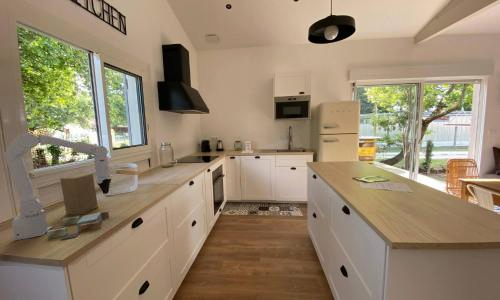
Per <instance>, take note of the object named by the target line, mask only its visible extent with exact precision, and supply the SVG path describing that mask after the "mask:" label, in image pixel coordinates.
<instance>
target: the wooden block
mask: <svg viewBox="0 0 500 300" xmlns="http://www.w3.org/2000/svg"><path fill="white" fill-rule="evenodd" d="M94 179H95V178H94V174H93V173H78V174H77V173H76V174H72V175H69V176H65V177H60V178H59V180H60V186H61V193H62V197H63V201H64V207H65V214H66V215H83V214H85V213H88V212H91V211H93V210H95V209H96V208H99V205H98V198H97V193H96V186H95V180H94Z"/></svg>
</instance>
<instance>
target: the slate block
mask: <svg viewBox="0 0 500 300" xmlns="http://www.w3.org/2000/svg"><path fill="white" fill-rule="evenodd" d="M94 213H95V214H93V213H90V214H86V215H83V216H82V217H80V220H79V221H78V222H77V223H76V227H77V231H79V232H80V225H82V224H87V223H92V222H98V221H100V223H101V222H102V221H103V219H102V214H101V213H99V212H94Z"/></svg>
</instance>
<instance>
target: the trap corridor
mask: <svg viewBox="0 0 500 300" xmlns="http://www.w3.org/2000/svg"><path fill="white" fill-rule="evenodd" d="M95 213H96V212H94V213H92V214H95ZM98 213H101V214H102V220H103V219H107V218H108V219H109V217H110V214H109V210H107V211H106V210H105V211H99V212H98ZM80 219H81V217H80V215H76V216H71V217H64V218H63V219H62V224H63V227H62V228H61V227H59V228H57V229H50V230H48V231H47V232H46V234H47V239H49V240H50V239H54V238H59V237H62V238H60V241H66V240H70V239H76V238H77V237H78V236H79V235H80V234H81V233H85V232H90V231H95V230H100V229H101V228H102V226H101V222H100V221H98V222H92V223H87V224H82V225H80V230H79V232H73V233H68V228H67V227H64V226H71V225H75V224H77V222H78V221H79V220H80Z"/></svg>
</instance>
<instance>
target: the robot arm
mask: <svg viewBox="0 0 500 300" xmlns="http://www.w3.org/2000/svg"><path fill="white" fill-rule="evenodd" d="M39 144H40V146H46V145H53V146H58V147H64V148H69V149H72V150H73V152H75V153H78V154H79V153H80V154H84V155H88V156H91V155H92V156H93V163H94V170H95V174H96V175H95V176H96V177H95V178H96V184H97V185H98V187H99V188H100V191H101V192H102V194H103V195H106V194H109V193H110V184H111V182H112V177H114V175H113V174H111V173H110V168H109V166H110V165H109V159H108V153H109V150H108V149H107V147H105V146H103V145H99V144H97V143H96V142H95V143H91V142H86V140H77V141H70V140H67V139H63V138H58V137H53V136H51V135H44V134H37V133H36V135H35V134H33V133H30V132H26V133H21V134H19V135H18V136H17V137H15V138H14V139H13V140H12V142H11V143H10V144H9V146H8V147H7V149H6V151H5V152H4V157H5V158H4V159H5V161H6V164H7V167H8V169H9V172H10V175H11V177H12V180H13V183H14V187H15V190H16V193H17V194H18V197H19V198H18V199H19V202H20V207H19V213H20V215H18V216H15V218H13V220H12V222H11V228H12V232H13V237H14V238H13V239H12V240H13V241H19V240H24V239H30V238H34V237H41V236H43V235H45V234H47V231H49V230H52V228H53V226H52V225H51V226H48V222H47V219H46V214H45V210H44V209H43V208H42V200H41V199H40V198H39V197H37V195H36V192H35V189H34V187H33V185H32V184H33V183H32V181H31V178H30V175H29V172H28V169H27V167H26V163H25V160H24V158H23V157H24V156H25V154H27V153H28V151H30V150H32V149H34V148H36V147H37V146H38V145H39Z"/></svg>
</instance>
